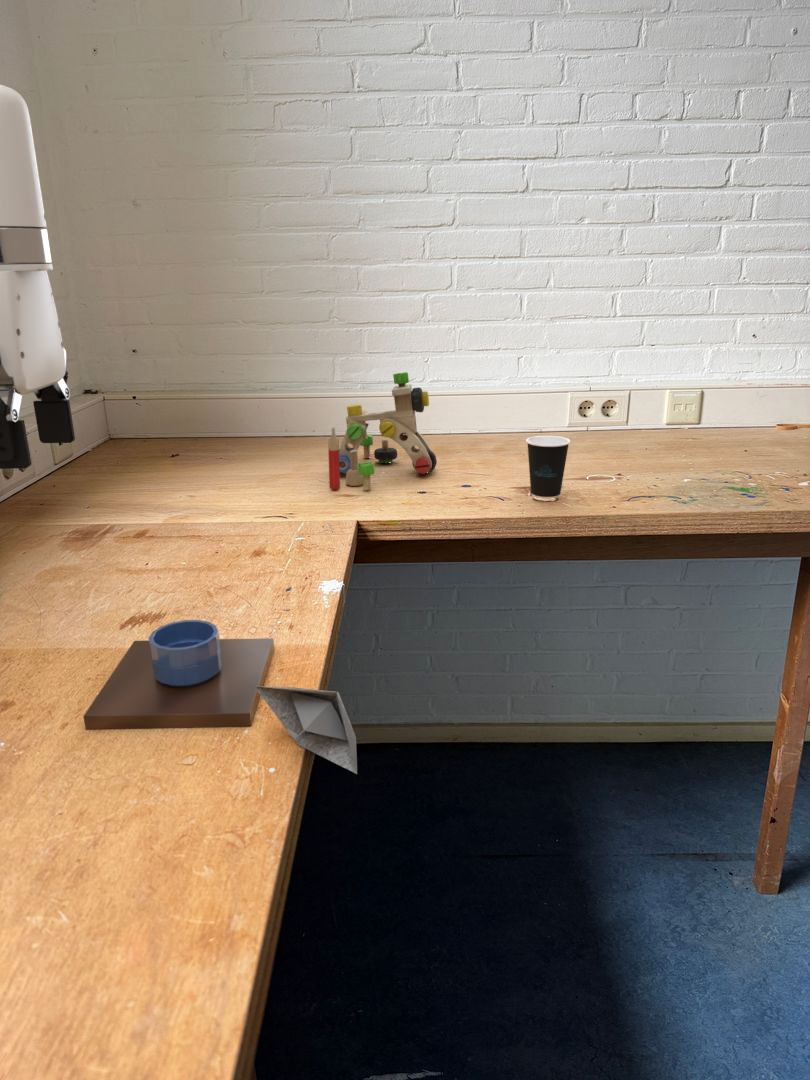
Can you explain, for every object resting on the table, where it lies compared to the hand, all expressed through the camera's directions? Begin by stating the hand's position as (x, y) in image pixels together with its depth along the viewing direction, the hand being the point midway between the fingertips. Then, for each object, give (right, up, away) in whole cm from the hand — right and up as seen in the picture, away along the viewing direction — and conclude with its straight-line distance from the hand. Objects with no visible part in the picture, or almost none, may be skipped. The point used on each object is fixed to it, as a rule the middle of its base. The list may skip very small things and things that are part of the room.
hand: (36, 454), depth 72 cm
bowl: (+10, -22, +12) cm, 27 cm away
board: (+10, -23, +13) cm, 28 cm away
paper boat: (+24, -27, +2) cm, 37 cm away
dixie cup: (+59, 0, +76) cm, 97 cm away
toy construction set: (+27, +5, +93) cm, 97 cm away
